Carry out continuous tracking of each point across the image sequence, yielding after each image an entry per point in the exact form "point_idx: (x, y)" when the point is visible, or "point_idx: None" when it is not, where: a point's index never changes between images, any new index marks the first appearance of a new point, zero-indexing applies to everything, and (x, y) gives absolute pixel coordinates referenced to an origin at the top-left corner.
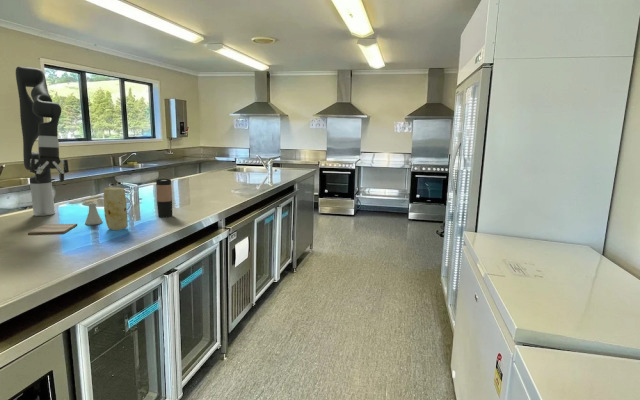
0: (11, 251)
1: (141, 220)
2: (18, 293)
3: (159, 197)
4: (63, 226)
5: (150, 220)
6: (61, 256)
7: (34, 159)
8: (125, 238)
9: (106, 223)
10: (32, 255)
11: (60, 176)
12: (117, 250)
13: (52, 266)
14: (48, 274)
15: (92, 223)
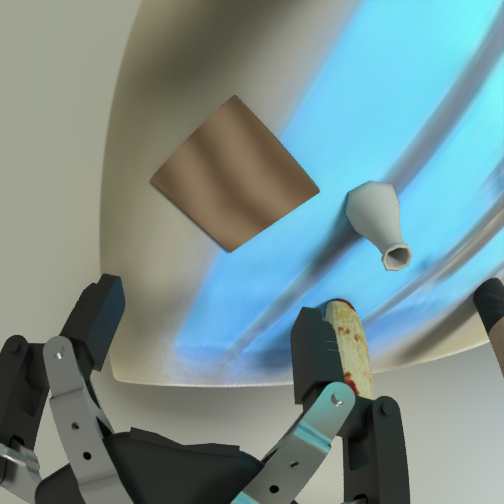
0: None
1: (440, 285)
2: (121, 377)
3: (494, 340)
4: (265, 191)
5: (443, 300)
6: (168, 353)
7: (18, 490)
8: (288, 360)
9: (328, 311)
10: (135, 324)
11: (297, 373)
12: (236, 380)
13: (151, 365)
14: (144, 373)
15: (353, 226)
